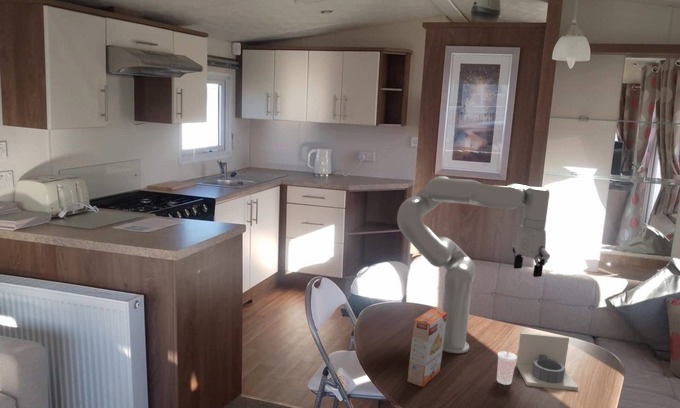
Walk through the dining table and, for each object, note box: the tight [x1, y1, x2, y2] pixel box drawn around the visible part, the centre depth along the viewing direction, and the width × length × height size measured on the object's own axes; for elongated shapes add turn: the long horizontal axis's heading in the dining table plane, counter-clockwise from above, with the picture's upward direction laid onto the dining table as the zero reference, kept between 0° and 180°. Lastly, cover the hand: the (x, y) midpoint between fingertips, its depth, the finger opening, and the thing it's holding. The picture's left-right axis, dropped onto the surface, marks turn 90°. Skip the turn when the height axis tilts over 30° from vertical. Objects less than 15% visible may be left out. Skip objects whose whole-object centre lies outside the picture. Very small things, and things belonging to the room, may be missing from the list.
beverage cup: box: [496, 339, 518, 386], centre depth 186 cm, size 6×6×14 cm
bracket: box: [515, 332, 579, 392], centre depth 191 cm, size 16×15×12 cm
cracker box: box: [406, 308, 447, 388], centre depth 184 cm, size 14×6×21 cm, turn 148°
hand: (527, 272), depth 199 cm, fingers open, 9 cm apart
